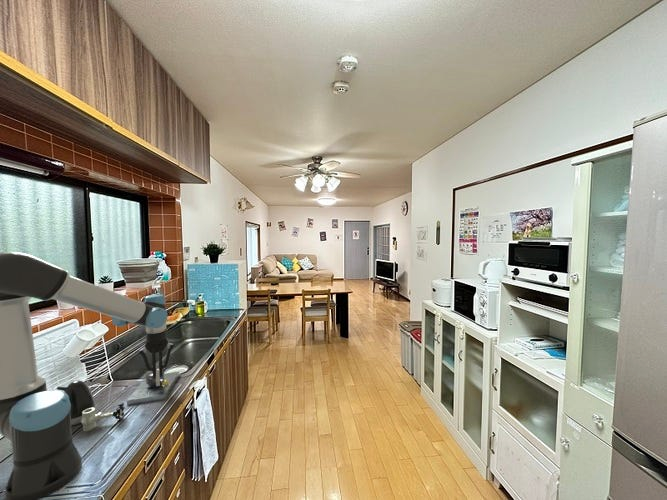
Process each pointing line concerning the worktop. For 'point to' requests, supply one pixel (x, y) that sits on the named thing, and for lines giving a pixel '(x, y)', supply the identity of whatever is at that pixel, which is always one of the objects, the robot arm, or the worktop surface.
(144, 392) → the stand base
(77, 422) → the pump dispenser
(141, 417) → the worktop surface
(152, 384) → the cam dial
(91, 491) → the worktop surface
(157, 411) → the worktop surface
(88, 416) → the valve
